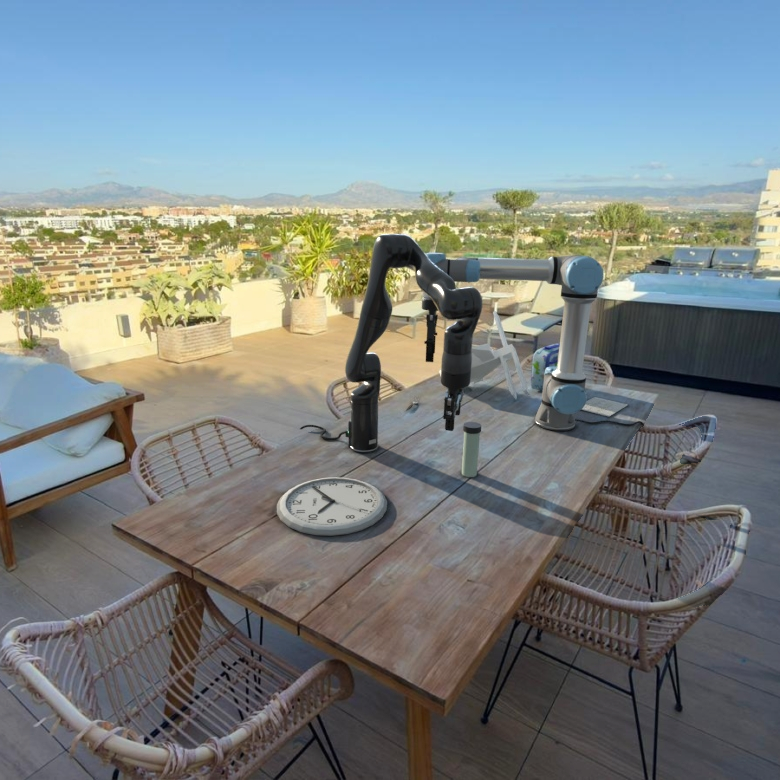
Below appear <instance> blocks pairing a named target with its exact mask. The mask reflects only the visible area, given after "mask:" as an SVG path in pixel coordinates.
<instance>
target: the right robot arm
mask: <svg viewBox="0 0 780 780" xmlns="http://www.w3.org/2000/svg"><path fill="white" fill-rule="evenodd" d="M425 254H426V256H427V257H428V258H429V259H430V260H431V262H432V263H433V264H435V265H436V266H437V267H438V268H439V269H441V270H442V271H443V272H445V273H446V274H447V275H449V276H450V277H451V278H452V279H453V280H454V282H455V283H456V282H457V283H468V284H470V283H477V282H479V281H480V280H495V281H497V280H499V281H500V280H501V281H526V282H527V281H531V282H546V283H547V284H548V285H557V286H561V289H560V298H561V299H562V300H563V303H564V305H563V313H562V322H561V330H560V339H559V344H560V346H559V355H558V364H557V366H553V367H547V368H546V369H545V373H544V382H543V390H542V394H541V402H540V405H539V407H538V410H537V411H536V413H535V415H534V424H535V425H536V426H537V427H539V428H542V429H544V430H549V431H556V432H567V431H572V430H574V429H575V428H576V422H579V423H585V424H588V425H597V424H601V423H610V424H615V425H619V426H624V427H625V426H626V427H632V426H636V425H638V424H640V425H643V426H644V425H645V424H644V422H642V421H641V420H637V421H635V422H633V423H623V422H619V421H615V420H598V421H587V420H584V419H583V420H582V419H577V418H575V417H576V416H575V414H576V413H579V412H580V411H582V410H581V409H582V408H583V407H584V406H585V404H586V401H588V397H587V392H586V389H585V388H586V383H587V382H586V381H587V375H586V374H585V373H584V371H583V369H584V361H585V355H586V347H587V339H588V338H587V337H588V330H589V324H590V318H591V317H590V316H591V308H592V303H593V302H594V301H596V300H597V298H598V294H599V293H598V291H599V288H601V285H602V284H603V281H604V269H603V267H602V265H601V264H600V262H599V261H597V260H596V259H595V258H594V257H592V256H587V255H581V254H574V255H573V254H572V255H565V256H551V257H549V258H548V259H545V258H544V259H543V258H542V259H541V258H540V259H539V258H501V257H500V258H497V257H496V258H495V257H494V258H492V257H466V256H460V257H457V258H455V259H451V258H449V259H448V258H447V257H446V253H444V252H427V253H425ZM420 292H421V293H422V294H421V296H422V299H421V309H422V310H423V311H428V313H426V316H425V320H426V340H424V342H423V343H424V344H425V362H426V363H434V359H435V357H434V356H435V353H436V338H437V337H436V336H438V332H437V329H436V328H437V324H438V318H439V315H438V314H437V311H438V309H437V307H436V305H435V304H434V302H433V300H432V298H430V297H429V296H428V295H427V294H426V293H424V292H423V291H422V290H421V289H420ZM438 312H439V311H438Z"/></svg>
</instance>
